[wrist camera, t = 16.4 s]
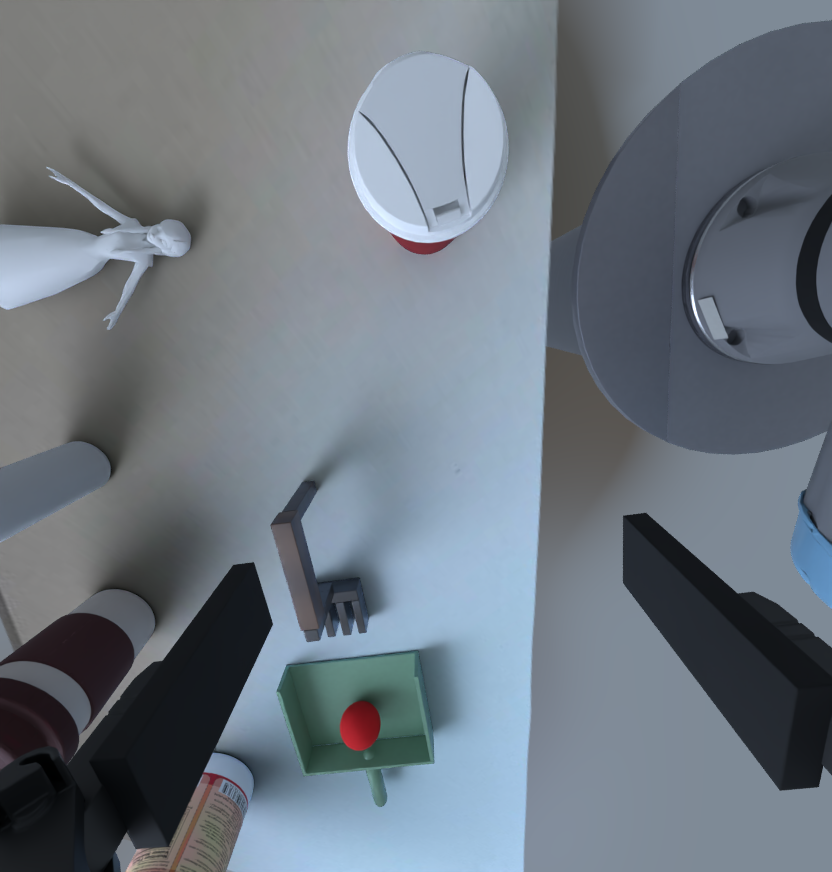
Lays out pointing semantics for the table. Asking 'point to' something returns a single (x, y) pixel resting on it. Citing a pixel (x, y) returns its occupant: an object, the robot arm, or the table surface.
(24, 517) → the beverage can
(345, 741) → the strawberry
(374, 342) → the table surface
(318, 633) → the fork
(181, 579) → the table surface
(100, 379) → the table surface
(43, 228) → the woman figurine
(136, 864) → the fruit juice
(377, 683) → the green dustpan
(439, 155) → the paper cup
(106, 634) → the coffee cup
